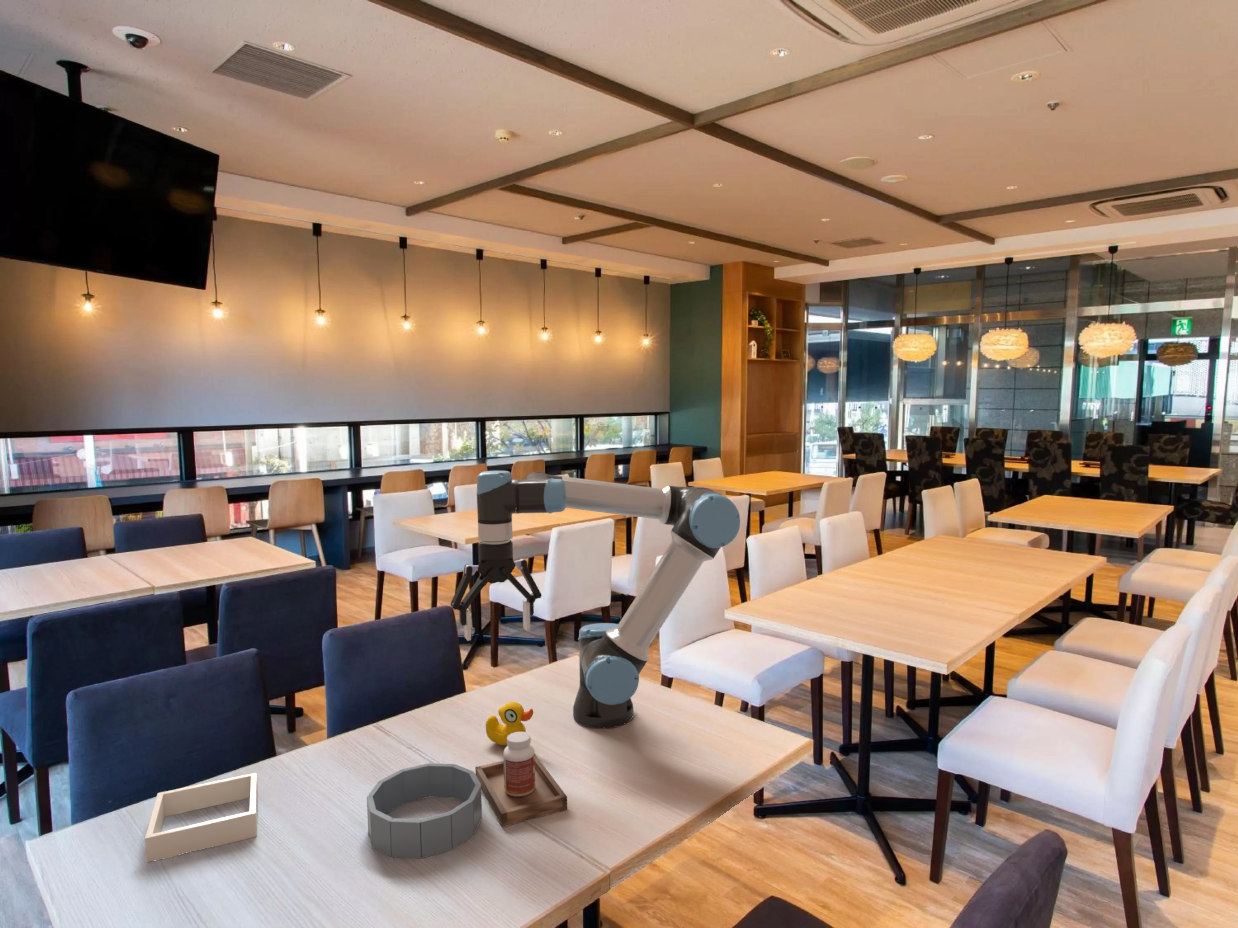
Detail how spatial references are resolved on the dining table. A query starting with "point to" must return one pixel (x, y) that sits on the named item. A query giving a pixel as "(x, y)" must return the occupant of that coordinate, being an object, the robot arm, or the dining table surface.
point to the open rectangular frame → (204, 832)
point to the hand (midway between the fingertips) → (497, 634)
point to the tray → (526, 807)
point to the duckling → (507, 722)
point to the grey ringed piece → (432, 831)
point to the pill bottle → (519, 765)
